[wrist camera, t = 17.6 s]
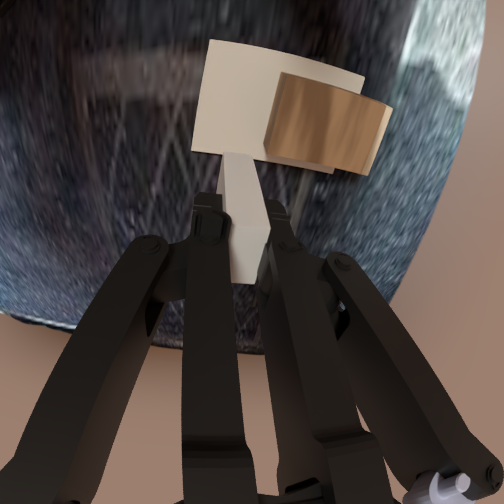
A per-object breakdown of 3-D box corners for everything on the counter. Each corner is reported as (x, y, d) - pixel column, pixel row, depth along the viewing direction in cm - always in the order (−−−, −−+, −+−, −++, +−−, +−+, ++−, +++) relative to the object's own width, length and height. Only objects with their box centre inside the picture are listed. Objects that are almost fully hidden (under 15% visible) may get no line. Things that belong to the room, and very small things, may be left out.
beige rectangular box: (267, 154, 35) (367, 175, 38) (287, 75, 29) (392, 108, 32) (262, 143, 38) (356, 163, 41) (280, 71, 32) (378, 101, 35)
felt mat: (191, 149, 38) (191, 150, 38) (210, 39, 29) (210, 39, 28) (331, 172, 42) (332, 174, 42) (363, 76, 33) (365, 77, 32)
